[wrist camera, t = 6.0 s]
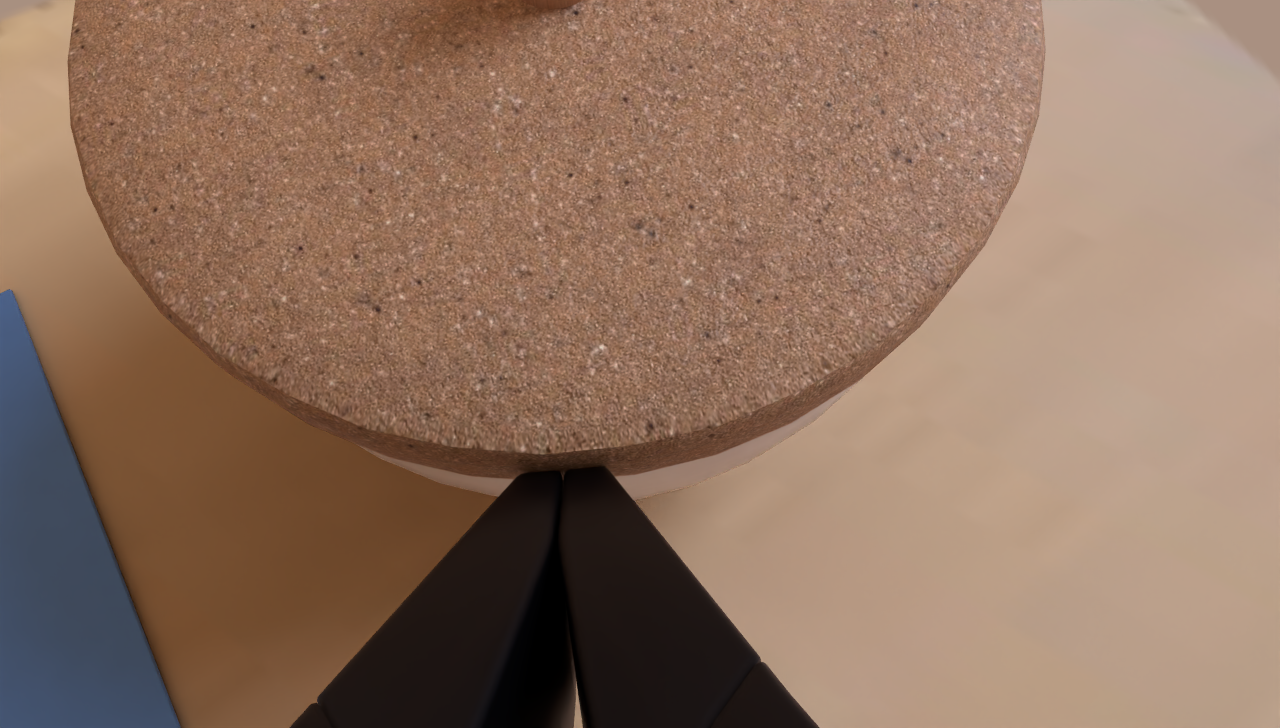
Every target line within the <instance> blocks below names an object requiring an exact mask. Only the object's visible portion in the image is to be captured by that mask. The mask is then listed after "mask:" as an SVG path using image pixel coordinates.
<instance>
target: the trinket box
mask: <svg viewBox="0 0 1280 728" xmlns="http://www.w3.org/2000/svg"><path fill="white" fill-rule="evenodd" d="M1045 51H1046V49H1045V37H1044V26H1043V15H1042V4H1041V0H76V1H75V9H74V16H73V24H72V32H71V40H70V48H69V55H68V78H69V100H70V121H71V129H72V133H73V137H74V141H75V145H76V149H77V153H78V157H79V161H80V165H81V169H82V173H83V177H84V181H85V185H86V189H87V192H88V194H89V196H90V198H91V200H92V203H93V205H94V207H95V209H96V211H97V213H98V215H99V217H100V219H101V221H102V224H103V226H104V228H105V230H106V232H107V234H108V236H109V238H110V240H111V243H112V245H113V247H114V249H115V251H116V253H117V255H118V256H119V257H120V259H121V260H122V261H123V263H124V264H125V265H126V267H127V268H128V269H129V271H130V272H131V273H132V275H133V276H134V277H135V279H136V280H137V281H138V283H139V284H140V286H141V287H142V288H143V290H144V291H145V292H146V294H147V295H148V296H149V298H150V299H151V300H152V302H153V303H154V304H155V306H156V307H157V308H158V310H159V311H160V312H161V313H162V314H163V315H164V316H165V317H166V318H167V319H168V320H169V321H170V322H171V323H173V324H174V325H175V326H176V327H177V328H178V329H179V330H180V331H181V332H182V333H183V334H185V335H186V336H187V337H188V338H189V339H190V340H191V341H192V342H193V343H194V344H195V345H197V346H198V347H199V348H200V349H201V350H202V351H203V352H204V353H205V354H206V355H207V356H209V357H210V358H211V359H212V360H213V361H214V362H215V363H216V364H217V365H219V366H220V367H221V368H223V369H224V370H225V371H227V372H228V373H229V374H231V375H232V376H234V377H235V378H237V379H238V380H240V381H241V382H243V383H245V384H246V385H248V386H249V387H251V388H252V389H254V390H256V391H257V392H259V393H260V394H262V395H264V396H265V397H267V398H268V399H270V400H272V401H273V402H275V403H276V404H278V405H279V406H281V407H283V408H284V409H286V410H287V411H289V412H291V413H292V414H294V415H295V416H297V417H299V418H300V419H302V420H303V421H305V422H307V423H308V424H310V425H312V426H314V427H317V428H319V429H322V430H324V431H326V432H329V433H331V434H334V435H336V436H338V437H341V438H343V439H346V440H348V441H351V442H353V443H355V444H356V445H358V446H360V447H361V448H363V449H365V450H367V451H368V452H370V453H372V454H373V455H375V456H377V457H378V458H380V459H383V460H385V461H387V462H390V463H392V464H395V465H397V466H400V467H402V468H404V469H407V470H409V471H412V472H414V473H416V474H419V475H421V476H424V477H426V478H429V479H431V480H433V481H436V482H438V483H442V484H446V485H449V486H453V487H457V488H461V489H466V490H470V491H474V492H479V493H483V494H487V495H491V496H496V497H499V496H500V494H501V493H502V492H503V491H504V490H505V489H506V488H507V487H508V486H509V484H510V483H511V482H512V481H513V480H514V479H515V478H516V477H517V476H518V475H520V474H522V473H530V472H543V471H557V472H560V473H561V475H562V477H563V480H564V474H565V473H566V471H568V470H570V469H579V468H591V467H606V468H608V470H609V471H610V472H611V473H612V474H613V475H614V477H615V478H616V479H617V480H618V482H619V483H620V484H621V485H622V487H623V488H624V489H625V490H626V492H627V493H628V494H629V495H630V496H631V498H632V499H633V500H638V499H642V498H646V497H650V496H654V495H658V494H662V493H666V492H670V491H674V490H678V489H682V488H686V487H690V486H694V485H696V484H699V483H701V482H703V481H706V480H708V479H710V478H713V477H715V476H717V475H720V474H722V473H725V472H727V471H729V470H732V469H734V468H736V467H739V466H741V465H743V464H746V463H748V462H750V461H751V460H753V459H755V458H756V457H758V456H760V455H761V454H763V453H765V452H766V451H768V450H769V449H771V448H773V447H774V446H776V445H777V444H779V443H781V442H782V441H784V440H785V439H787V438H788V437H790V436H792V435H793V434H795V433H796V432H798V431H800V430H801V429H803V428H804V427H806V426H808V425H809V424H811V423H812V422H814V421H815V420H816V419H818V418H819V417H820V416H821V415H822V414H823V413H824V412H825V411H827V410H828V409H829V408H830V407H831V406H832V405H833V404H834V403H836V402H837V401H838V400H839V399H840V398H841V397H842V396H843V395H845V394H846V393H847V392H848V391H849V390H850V389H851V388H852V387H854V386H855V385H856V384H857V383H858V382H859V381H860V380H861V379H862V378H863V377H864V376H865V375H866V374H867V373H868V372H870V371H871V370H872V369H873V368H874V367H875V366H876V365H877V364H879V363H880V362H881V361H882V360H883V359H884V358H885V357H886V356H888V355H889V354H890V353H891V352H892V351H893V350H894V349H895V348H897V347H898V346H899V345H900V344H901V343H902V342H903V341H904V340H906V339H907V338H908V337H909V336H910V335H911V334H912V333H913V332H915V331H916V330H917V329H918V328H919V327H920V326H921V325H922V324H923V322H924V321H925V320H926V319H927V318H928V317H929V316H930V314H931V313H932V312H933V311H934V309H935V308H936V307H937V305H938V304H939V303H940V302H941V300H942V299H943V298H944V297H945V295H946V294H947V293H948V292H949V290H950V289H951V288H952V287H953V285H954V284H955V283H956V282H957V280H958V279H959V278H960V276H961V275H962V274H963V273H964V271H965V270H966V269H967V268H968V266H969V265H970V264H971V263H972V261H973V260H974V259H975V258H976V256H977V255H978V254H979V252H980V251H981V250H982V248H983V247H984V246H985V244H986V242H987V240H988V238H989V236H990V235H991V233H992V231H993V229H994V227H995V225H996V223H997V221H998V219H999V217H1000V216H1001V214H1002V212H1003V210H1004V208H1005V206H1006V204H1007V202H1008V200H1009V199H1010V197H1011V195H1012V193H1013V191H1014V189H1015V187H1016V185H1017V183H1018V182H1019V179H1020V175H1021V172H1022V169H1023V166H1024V162H1025V159H1026V156H1027V153H1028V149H1029V146H1030V143H1031V140H1032V136H1033V133H1034V130H1035V127H1036V123H1037V120H1038V117H1039V110H1040V100H1041V90H1042V81H1043V71H1044V61H1045Z"/></svg>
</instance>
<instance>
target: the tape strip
mask: <svg viewBox="0 0 1280 728" xmlns="http://www.w3.org/2000/svg"><path fill="white" fill-rule="evenodd" d="M0 728H181V727H180V724H179V722H178V719H177V716H176V714H175V711H174V709H173V706H172V703H171V701H170V698H169V696H168V693H167V690H166V688H165V685H164V683H163V680H162V678H161V675H160V672H159V670H158V667H157V665H156V662H155V659H154V657H153V654H152V652H151V649H150V646H149V644H148V641H147V639H146V636H145V633H144V631H143V628H142V626H141V623H140V620H139V618H138V615H137V613H136V610H135V607H134V605H133V602H132V600H131V597H130V595H129V592H128V589H127V587H126V584H125V582H124V579H123V576H122V574H121V571H120V569H119V566H118V563H117V561H116V558H115V556H114V553H113V550H112V548H111V545H110V543H109V540H108V537H107V535H106V532H105V530H104V527H103V525H102V522H101V519H100V517H99V514H98V512H97V509H96V506H95V504H94V501H93V499H92V496H91V493H90V491H89V488H88V486H87V483H86V480H85V478H84V475H83V473H82V470H81V467H80V465H79V462H78V460H77V457H76V455H75V452H74V449H73V447H72V444H71V442H70V439H69V436H68V434H67V431H66V429H65V426H64V423H63V421H62V418H61V416H60V413H59V410H58V408H57V405H56V403H55V400H54V397H53V395H52V392H51V390H50V387H49V384H48V382H47V379H46V377H45V374H44V372H43V369H42V366H41V364H40V361H39V359H38V356H37V353H36V351H35V348H34V346H33V343H32V340H31V338H30V335H29V333H28V330H27V327H26V325H25V322H24V320H23V317H22V314H21V312H20V309H19V307H18V304H17V302H16V299H15V296H14V294H13V291H11V290H10V289H9V290H7V291H5V292H2V293H0Z"/></svg>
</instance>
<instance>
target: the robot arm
mask: <svg viewBox="0 0 1280 728" xmlns="http://www.w3.org/2000/svg"><path fill="white" fill-rule="evenodd" d="M576 681H577V688H578V695H579V702H580V710H581V717H582V724H583V728H819V727H818V725H817V724H816V723H815V722H814V721H813V720H812V719H811V717H810V716H809V715H808V714H807V713H806V712H805V711H804V709H803V708H802V707H801V706H800V705H799V704H798V702H797V701H796V700H795V699H794V698H793V697H792V696H791V694H790V693H789V692H788V691H787V690H786V688H785V687H784V686H783V685H782V683H781V682H780V681H779V680H778V678H777V677H776V676H775V675H774V673H773V672H772V671H771V670H770V668H769V667H768V666H767V665H766V664H765V663H763V662H761V659H760V657H759V655H758V654H757V653H756V652H755V650H754V649H753V648H752V647H751V645H750V644H749V643H748V642H747V640H746V639H745V638H744V637H743V635H742V634H741V633H740V632H739V631H738V629H737V628H736V627H735V626H734V624H733V623H732V622H731V621H730V619H729V618H728V617H727V616H726V614H725V613H724V612H723V611H722V609H721V608H720V607H719V606H718V604H717V603H716V602H715V601H714V600H713V598H712V597H711V596H710V595H709V593H708V592H707V591H706V590H705V588H704V587H703V586H702V585H701V583H700V582H699V581H698V580H697V578H696V577H695V576H694V575H693V573H692V572H691V571H690V570H689V568H688V567H687V566H686V565H685V564H684V562H683V561H682V560H681V559H680V557H679V556H678V555H677V554H676V552H675V551H674V550H673V549H672V547H671V546H670V545H669V544H668V542H667V541H666V540H665V539H664V537H663V536H662V535H661V534H660V532H659V531H658V530H657V529H656V528H655V526H654V525H653V524H652V523H651V521H650V520H649V519H648V518H647V516H646V515H645V514H644V513H643V511H642V510H641V509H640V508H639V506H638V505H637V504H636V503H635V501H634V500H633V499H632V498H631V496H630V495H629V494H628V493H627V492H626V490H625V489H624V488H623V487H622V485H621V484H620V483H619V482H618V480H617V479H616V478H615V477H614V475H613V474H612V473H611V472H610V471H609V470H608V468H606V467H591V468H579V469H570V470H568V471H566V473H565V474H564V480H563V477H562V475H561V473H560V472H557V471H543V472H530V473H522V474H520V475H518V476H517V477H516V478H515V479H514V480H513V481H512V482H511V483H510V484H509V486H508V487H507V488H506V489H505V490H504V491H503V492H502V493H501V494H500V496H499V497H498V498H497V499H496V500H495V501H494V502H493V503H492V504H491V506H490V507H489V508H488V509H487V510H486V511H485V512H484V513H483V514H482V515H481V517H480V518H479V519H478V520H477V521H476V522H475V523H474V524H473V525H472V527H471V528H470V529H469V530H468V531H467V532H466V533H465V534H464V535H463V537H462V538H461V539H460V540H459V541H458V542H457V543H456V544H455V545H454V547H453V548H452V549H451V550H450V551H449V552H448V553H447V554H446V555H445V556H444V558H443V559H442V560H441V561H440V562H439V563H438V564H437V565H436V566H435V568H434V569H433V570H432V571H431V572H430V573H429V574H428V575H427V576H426V578H425V579H424V580H423V581H422V582H421V583H420V584H419V585H418V586H417V588H416V589H415V590H414V591H413V592H412V593H411V594H410V595H409V596H408V597H407V599H406V600H405V601H404V602H403V603H402V604H401V605H400V606H399V607H398V609H397V610H396V611H395V612H394V613H393V614H392V615H391V616H390V617H389V619H388V620H387V621H386V622H385V623H384V624H383V625H382V626H381V627H380V629H379V630H378V631H377V632H376V633H375V634H374V635H373V636H372V637H371V638H370V640H369V641H368V642H367V643H366V644H365V645H364V646H363V647H362V648H361V650H360V651H359V652H358V653H357V654H356V655H355V656H354V657H353V658H352V660H351V661H350V662H349V663H348V664H347V665H346V666H345V667H344V668H343V670H342V671H341V672H340V673H339V674H338V675H337V676H336V677H335V678H334V679H333V681H332V682H331V683H330V684H329V685H328V686H327V687H326V688H325V689H324V691H323V692H322V693H321V694H320V695H319V696H318V699H317V702H318V704H317V703H313V704H311V705H310V706H309V707H308V708H307V709H306V710H305V711H304V712H303V713H302V714H301V716H300V717H299V718H298V719H297V720H296V721H295V722H294V723H293V724H292V725H291V727H290V728H573V727H574V715H575V702H576Z"/></svg>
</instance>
